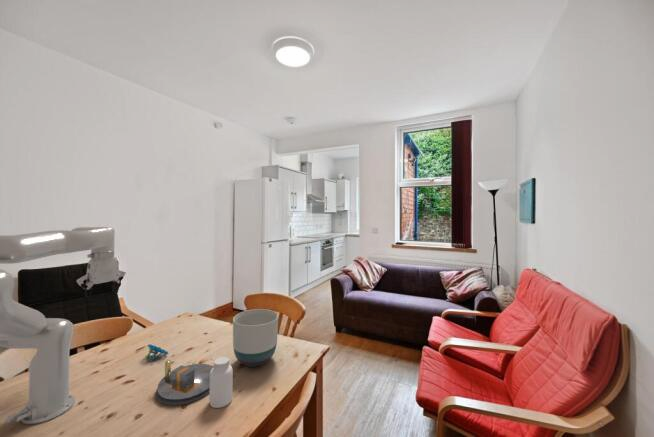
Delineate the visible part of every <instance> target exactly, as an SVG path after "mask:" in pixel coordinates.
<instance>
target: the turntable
mask: <svg viewBox="0 0 654 437" xmlns="http://www.w3.org/2000/svg"><path fill="white" fill-rule="evenodd" d="M185 366H186V367H189V368H191V369H194V386H192V387H191V388H189V389H188V390H186V391H183V390H180V389H177V388H175V387H173V386H172V361H171V359H167V360H166V361H165V362H164V376H163V377H162V378H161V379H160V381H159V383H158V385H157V388H158V395H159V396H160V397H161V398H162V399H164V400H167V401H182V400H187V399H191V398H194V397H196V396H198V395H201V394H203V393H204V392H206V391H207V390H209V389H210V371H211V370H212V368H213V367H214V365H210V364H206V363H194V364H188V365H185Z"/></svg>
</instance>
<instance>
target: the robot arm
mask: <svg viewBox="0 0 654 437" xmlns="http://www.w3.org/2000/svg"><path fill="white" fill-rule="evenodd" d="M115 234H116V233H115V228H114V227H111V226H95V227H94V226H93V227H90V226H86V227H85V226H79V227H75V228H73V229H71V230H65V229H63V230H62V229H60V230H58V229H57V230H56V229H55V230H47V231H39V232H32V233H31V232H30V233H24V234H16V235H15V234H12V235H11V234H10V235H0V265H2V264H4V265H7V264H19V263H25V262H29V261H34V260H38V259H42V258H46V257H52V256H56V255H64V254H71V253H77V252H83V251H89V250H91V252H90V254H87V255H86V256H87V258H88V259H89V261H88V262H87V263H88V264H87V268H86V274H85V275H83V276H81V277H80V278H78V279H76V283H77V285H79V287H81V288H82V289H84V297H85V299H88V300H90V299H92V297H93V296H92V295H93V289H92V287H93V286H94V285H99V284H103V283H108V282H113V283H112V286H111V288H112V293H117V294H118V293H119V290H120V283H121V282H122V280H123V279H124V277H125V275H126V273H127V272H126V271H123V270H120V268H119V263H118V258H117V257H115ZM85 280H86V283H84V281H85ZM14 288H15V279H14V277H13V276H12V274H11V273H10V272H8V271H6V270H3V269H1V268H0V347H1V348H7V349H17V350H19V349H20V350H22V349H23V350H25V349H28V350H29V349H31V350H33V349H34V350H36V352H35V354H34V356H33V357H31V360H30V362H29V365H28V372H29V373H28V374H29V375H28V402H27V403H25V404H24V407H23V408H21V409H20V410H19V411H17V412H14V413H12V414H10V415H8V416H6V417H5V420H6V423H7V424H9V423H11V422H13V421H15V422H16V423H18V422H21V423H22V424H24V425H35V424H36V425H37V424H41V423H44V422H46V421H49V420H52V419H54V418H56V417H58V416H61V415H62V414H64V413H66V412H67V411H69V409H71V408H72V407H73V406H74V404H75V400H76V398H75V396H73V395H71V394H70V349H71V341H72V338H73V336H74V330H75V327H74V323H73V322H71V320H69V319H66V318H57V317H54V318H53V317H47V318H46V316H45V315H44V314H43V313H42V312H41V311H39V310H37V309H34V308H32V307H30V306H26V305H25V304H22V303H19V302H17V301H16V300H14V299H13V295H14V294H13V293H14Z"/></svg>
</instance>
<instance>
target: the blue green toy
mask: <svg viewBox="0 0 654 437" xmlns="http://www.w3.org/2000/svg"><path fill="white" fill-rule="evenodd" d="M147 348H148V350H149V351H148V353H147V355H146V358H149V357H150V355H151V354H152V356H151V358H150V360H149V361H150V362H153V360H154V358H155V357H156V356H157V355H158V353H160V354H163V355H168V354H169V351H167V350H166V349H162V348H161V347H159V346H158V347H157V346H156V345H153V344H148V345H147Z"/></svg>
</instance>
